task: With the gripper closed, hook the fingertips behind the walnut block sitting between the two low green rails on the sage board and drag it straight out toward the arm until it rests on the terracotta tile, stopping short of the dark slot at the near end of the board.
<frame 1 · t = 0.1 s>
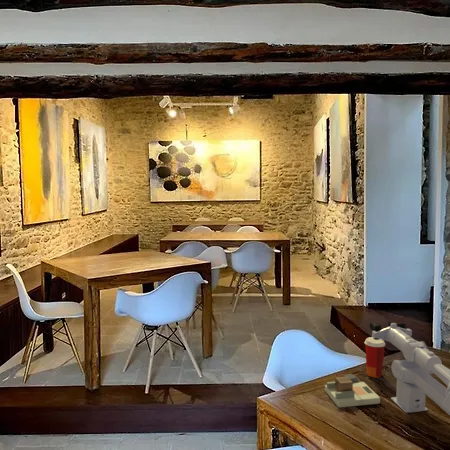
hand: (380, 324, 165), 22 cm above the table, tool horizontal, fingers open, 7 cm apart
board: (351, 396, 154), on the table
walnut block: (343, 392, 153), point 2 cm above the table, touching board
paper cup: (373, 375, 171), on the table
charcoal block: (350, 385, 163), on the table
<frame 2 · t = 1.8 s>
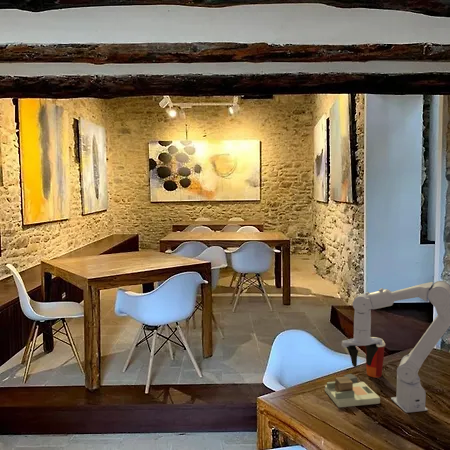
hand: (361, 365, 156), 10 cm above the table, tool pointing down, fingers open, 5 cm apart
nothing on the table moved.
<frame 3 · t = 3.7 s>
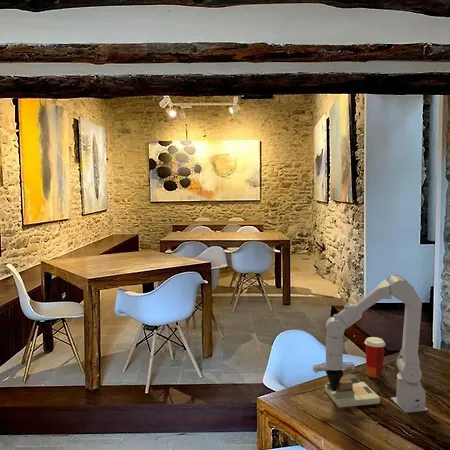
hand: (333, 389, 153), 3 cm above the table, tool pointing down, fingers closed
walnut block: (343, 392, 153), point 2 cm above the table, touching board, gripper
everything else where it was.
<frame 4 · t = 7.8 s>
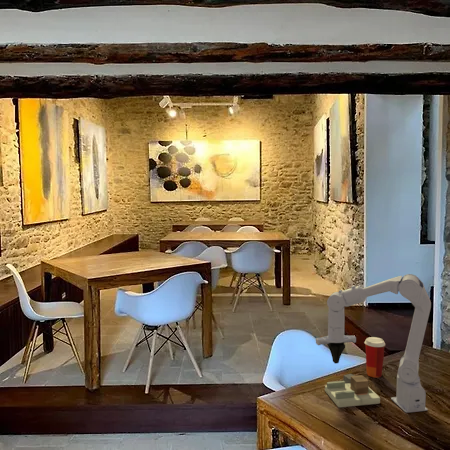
hand: (335, 362, 158), 10 cm above the table, tool pointing down, fingers closed
walnut block: (359, 390, 154), point 2 cm above the table, touching board
everything else where it was.
at the end: walnut block 0.6 cm from the target spot, point 2.0 cm above the table; walnut block tilted 0° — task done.
